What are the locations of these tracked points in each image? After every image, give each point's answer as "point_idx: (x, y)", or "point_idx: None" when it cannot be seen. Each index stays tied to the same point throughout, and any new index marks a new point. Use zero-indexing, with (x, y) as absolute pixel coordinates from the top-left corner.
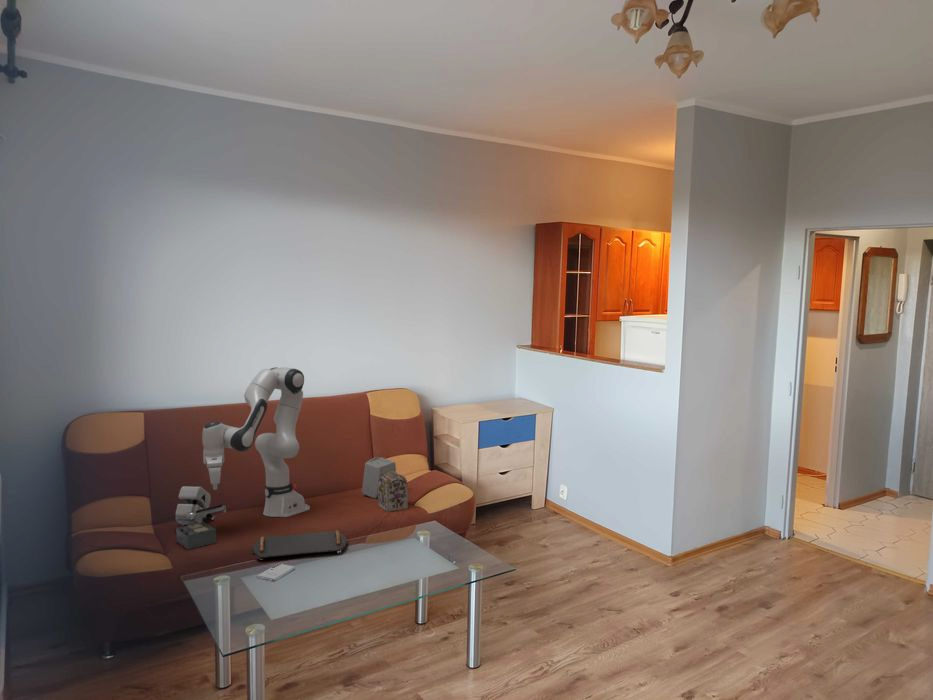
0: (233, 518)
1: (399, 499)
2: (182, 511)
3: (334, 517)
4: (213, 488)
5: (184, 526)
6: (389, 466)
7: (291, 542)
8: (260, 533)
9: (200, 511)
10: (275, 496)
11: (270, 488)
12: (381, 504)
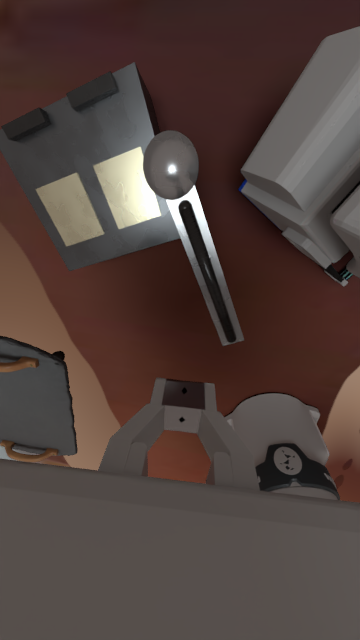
0: (300, 331)
1: None
2: (298, 100)
3: (177, 462)
4: (154, 385)
5: (146, 126)
6: None
7: (20, 399)
8: (136, 363)
9: (185, 230)
10: (255, 460)
11: (272, 484)
12: None
